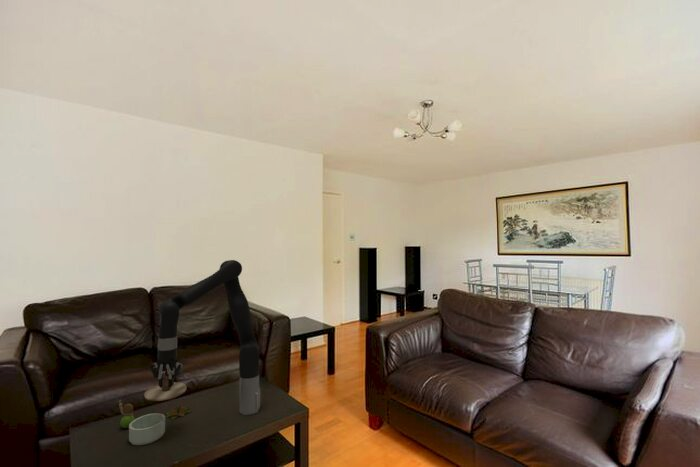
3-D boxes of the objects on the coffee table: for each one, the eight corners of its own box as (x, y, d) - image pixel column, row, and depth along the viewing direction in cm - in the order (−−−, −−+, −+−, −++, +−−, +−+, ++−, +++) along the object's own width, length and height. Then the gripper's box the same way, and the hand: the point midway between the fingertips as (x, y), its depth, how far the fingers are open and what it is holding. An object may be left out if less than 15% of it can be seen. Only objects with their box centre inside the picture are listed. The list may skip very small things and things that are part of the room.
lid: (192, 384, 151) (193, 371, 151) (175, 400, 135) (175, 386, 135) (157, 384, 150) (158, 371, 151) (136, 400, 134) (136, 386, 135)
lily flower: (170, 423, 151) (170, 413, 151) (159, 415, 158) (159, 406, 158) (196, 412, 160) (196, 403, 161) (184, 405, 168) (184, 396, 168)
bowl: (170, 427, 147) (170, 413, 147) (154, 445, 134) (154, 429, 134) (141, 428, 146) (141, 413, 147) (121, 446, 133) (122, 430, 134)
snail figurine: (122, 424, 150) (122, 397, 150) (137, 423, 151) (137, 397, 151) (114, 431, 145) (115, 403, 145) (130, 430, 145) (130, 402, 145)
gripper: (187, 344, 147) (186, 383, 147) (156, 344, 147) (154, 383, 146) (179, 350, 140) (178, 390, 139) (146, 349, 139) (144, 390, 139)
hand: (166, 386), depth 143 cm, fingers closed on lid, 3 cm apart
